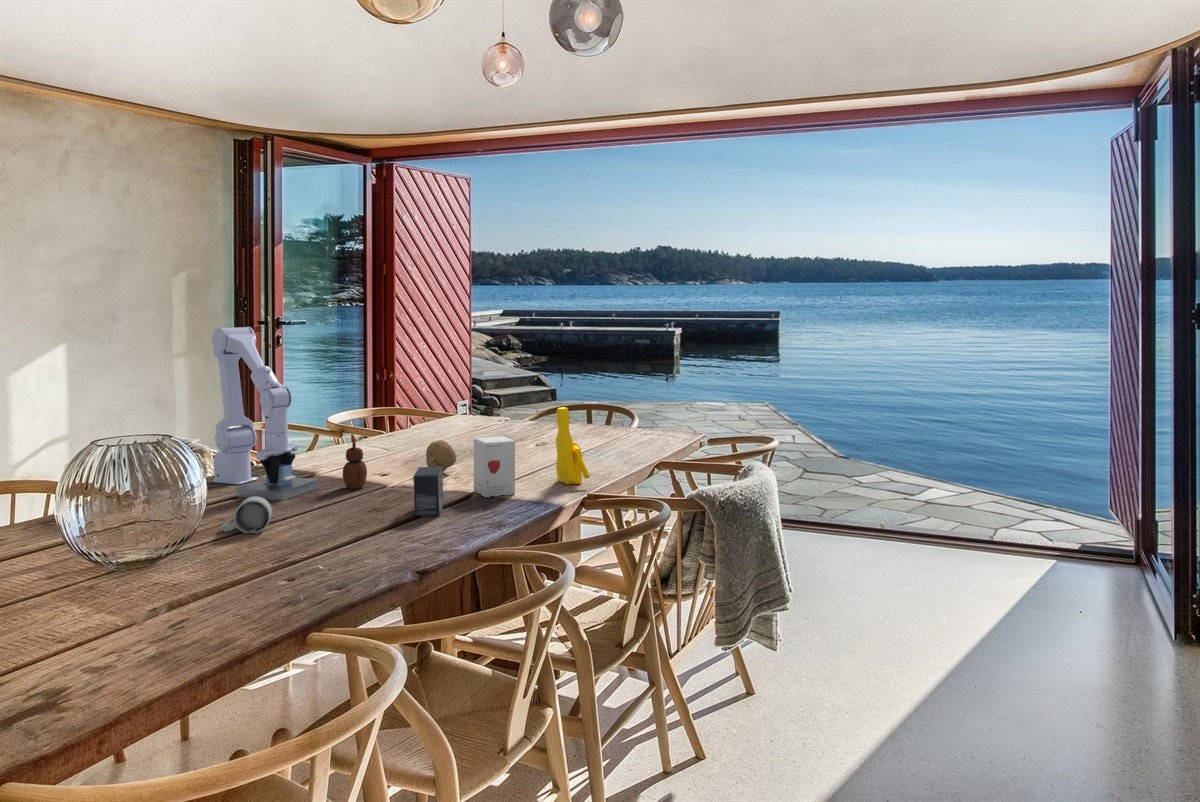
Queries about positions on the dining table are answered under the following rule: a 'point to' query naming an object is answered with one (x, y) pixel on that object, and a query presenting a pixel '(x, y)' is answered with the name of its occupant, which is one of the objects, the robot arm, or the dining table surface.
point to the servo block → (282, 476)
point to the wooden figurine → (354, 468)
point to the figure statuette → (568, 452)
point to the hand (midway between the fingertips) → (278, 481)
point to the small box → (428, 491)
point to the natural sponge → (440, 455)
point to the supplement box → (494, 466)
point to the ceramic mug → (250, 516)
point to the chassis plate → (277, 489)
